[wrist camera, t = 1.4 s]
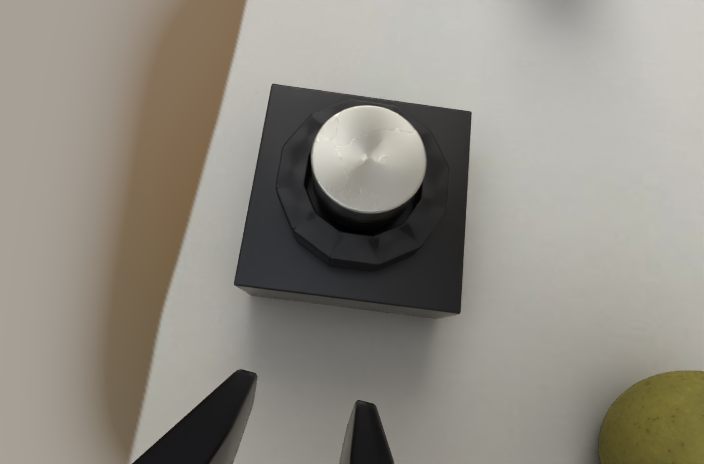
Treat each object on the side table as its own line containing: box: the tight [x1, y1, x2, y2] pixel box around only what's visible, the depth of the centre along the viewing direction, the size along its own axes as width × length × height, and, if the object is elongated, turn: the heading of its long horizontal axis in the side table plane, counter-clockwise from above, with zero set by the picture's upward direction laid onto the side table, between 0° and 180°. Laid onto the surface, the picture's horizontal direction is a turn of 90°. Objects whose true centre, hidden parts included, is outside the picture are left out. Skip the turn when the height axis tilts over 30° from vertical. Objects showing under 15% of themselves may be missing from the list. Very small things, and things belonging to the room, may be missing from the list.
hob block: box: [234, 84, 472, 318], centre depth 21 cm, size 10×10×6 cm
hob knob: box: [311, 105, 427, 230], centre depth 17 cm, size 4×4×3 cm
